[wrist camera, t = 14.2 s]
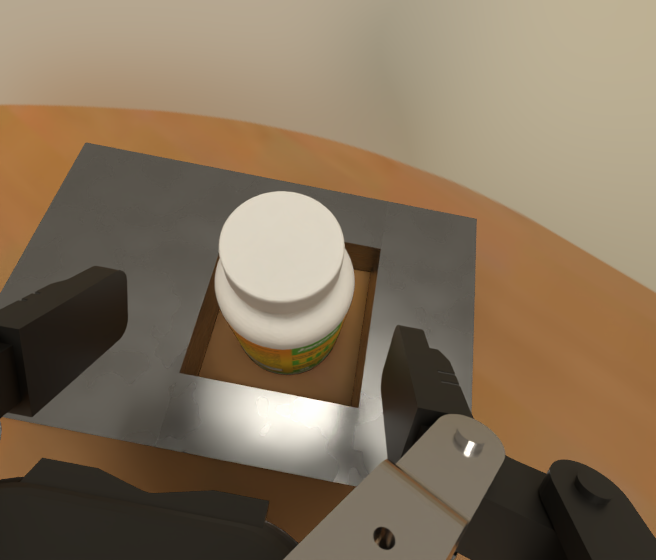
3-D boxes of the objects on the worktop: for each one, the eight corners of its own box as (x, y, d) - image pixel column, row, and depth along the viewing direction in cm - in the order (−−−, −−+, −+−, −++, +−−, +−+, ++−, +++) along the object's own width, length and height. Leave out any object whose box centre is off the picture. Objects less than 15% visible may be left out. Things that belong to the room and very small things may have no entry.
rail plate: (-8, 409, 18) (-63, 404, 15) (110, 177, 24) (85, 142, 21) (442, 497, 18) (468, 508, 15) (455, 244, 23) (476, 219, 21)
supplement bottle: (298, 397, 19) (299, 364, 10) (218, 336, 20) (155, 256, 11) (356, 316, 21) (399, 229, 12) (281, 264, 22) (269, 147, 13)
